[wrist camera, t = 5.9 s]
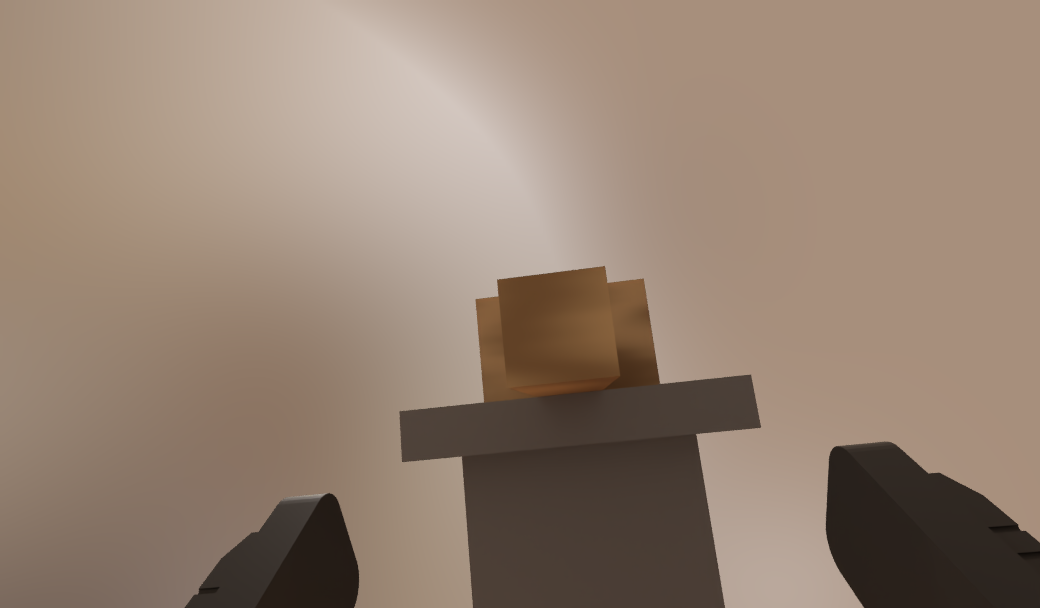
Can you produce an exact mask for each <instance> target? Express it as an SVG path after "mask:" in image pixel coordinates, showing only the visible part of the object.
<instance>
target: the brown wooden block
mask: <svg viewBox="0 0 1040 608" xmlns="http://www.w3.org/2000/svg"><path fill="white" fill-rule="evenodd" d="M497 283H498V294H499V296H498V297H491V298H483V299H476V310H477V321H478V334H479V345H480V357H481V370H482V381H483V393H484V403H485V402H495V401H505V400H514V399H524V398H533V397H543V396H552V395H562V394H571V393H581V392H590V391H600V390H609V389H619V388H629V387H638V386H648V385H657V384H660V381H659V375H658V369H657V363H656V356H655V350H654V343H653V337H652V330H651V324H650V317H649V310H648V304H647V298H646V291H645V285H644V279H637V280H629V281H621V282H613V283H607V277H606V270H605V266H603V267H595V268H587V269H579V270H571V271H563V272H556V273H548V274H539V275H531V276H523V277H516V278H508V279H499V280H497Z"/></svg>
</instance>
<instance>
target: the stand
mask: <svg viewBox="0 0 1040 608" xmlns="http://www.w3.org/2000/svg"><path fill="white" fill-rule="evenodd" d="M760 427H761V425H760V420H759V415H758V409H757V404H756V399H755V394H754V389H753V383H752V378H751V375H744V376H734V377H724V378H715V379H705V380H695V381H687V382H676V383H668V384H657V385H648V386H638V387H629V388H619V389H609V390H600V391H590V392H581V393H571V394H562V395H552V396H543V397H533V398H524V399H514V400H505V401H495V402H485V403H476V404H466V405H457V406H447V407H438V408H428V409H419V410H410V411H400V430H401V449H402V462H407V461H417V460H418V461H419V460H429V459H439V458H450V457H460V456H462V463H463V477H464V490H465V503H466V517H467V531H468V545H469V557H470V571H471V586H472V599H473V608H725V605H724V599H723V593H722V587H721V581H720V575H719V569H718V563H717V558H716V552H715V545H714V539H713V534H712V527H711V521H710V515H709V509H708V503H707V498H706V491H705V485H704V479H703V473H702V467H701V461H700V455H699V448H698V442H697V436H696V434H700V433H711V432H721V431H730V430H742V429H752V428H760Z"/></svg>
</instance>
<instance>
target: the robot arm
mask: <svg viewBox="0 0 1040 608" xmlns="http://www.w3.org/2000/svg"><path fill="white" fill-rule="evenodd" d="M826 534H827V540H828V544H829V548H830V551H831V554H832V556H833V559H834V561H835V563H836V565H837V567H838V569H839V571H840V572H841V574H842V575H843V577H844V578H845V580H846V581H847V583H848V584H849V586H850V587H851V589H852V590H853V592H854V593H855V595H856V596H857V598H858V599H859V601H860V602H861V604H862V605H863V607H864V608H1040V543H1039V542H1038V541H1037V540H1036V539H1035V538H1033V537H1032V536H1031V535H1030V534H1029V533H1027V532H1026V531H1021V530H1020V529H1019V527H1018V524H1017V523H1016V522H1014V521H1013V520H1012V519H1011V518H1010V517H1008V516H1007V515H1006V514H1005V513H1004V512H1002V511H1001V510H1000V509H999V508H998V507H996V506H995V505H994V504H993V503H992V502H990V501H989V500H988V499H987V498H986V497H984V496H983V495H981V494H979V493H978V492H976V491H973V490H972V489H970V488H968V487H966V486H964V485H962V484H960V483H958V482H956V481H954V480H952V479H950V478H948V477H946V476H944V475H942V474H941V473H931V474H928V473H927V472H926V471H925V470H924V469H923V468H921V467H920V466H919V465H918V464H917V463H916V462H915V461H914V460H912V459H911V458H910V457H909V456H908V455H907V454H906V453H905V452H903V450H901V449H900V448H899V447H898V446H897V445H895V444H893V443H891V442H878V443H867V444H856V445H846V446H836V447H834V448H833V449H832V451H831V453H830V456H829V471H828V492H827V512H826ZM358 588H359V570H358V565H357V561H356V558H355V554H354V551H353V548H352V545H351V541H350V538H349V535H348V532H347V528H346V525H345V522H344V518H343V516H342V512H341V509H340V506H339V503H338V501H337V499H336V497H335V496H334V495H333V494H330V493H327V494H317V495H307V496H296V497H287V498H285V499H283V500H282V501H281V502H280V503H279V504H278V505H277V506H276V508H275V509H274V511H273V512H272V514H271V515H270V516H269V518H268V519H267V521H266V522H265V523H264V525H263V526H262V528H261V529H260V531H259V532H255V533H251V534H250V535H249V536H247V537H246V538H245V539H244V540H243V541H242V542H240V543H239V544H238V545H237V546H236V547H235V548H233V549H232V550H231V551H230V552H229V553H227V554H226V555H225V556H224V557H223V558H221V560H220V561H219V562H218V564H217V565H216V566H215V568H214V569H213V571H212V572H211V573H210V574H209V576H208V577H207V579H206V580H205V581H204V582H203V584H202V585H201V586H200V588H199V593H198V595H194V596H193V597H192V599H191V600H190V601H189V603H188V604H187V605H186V607H185V608H354V606H355V603H356V600H357V595H358Z"/></svg>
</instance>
